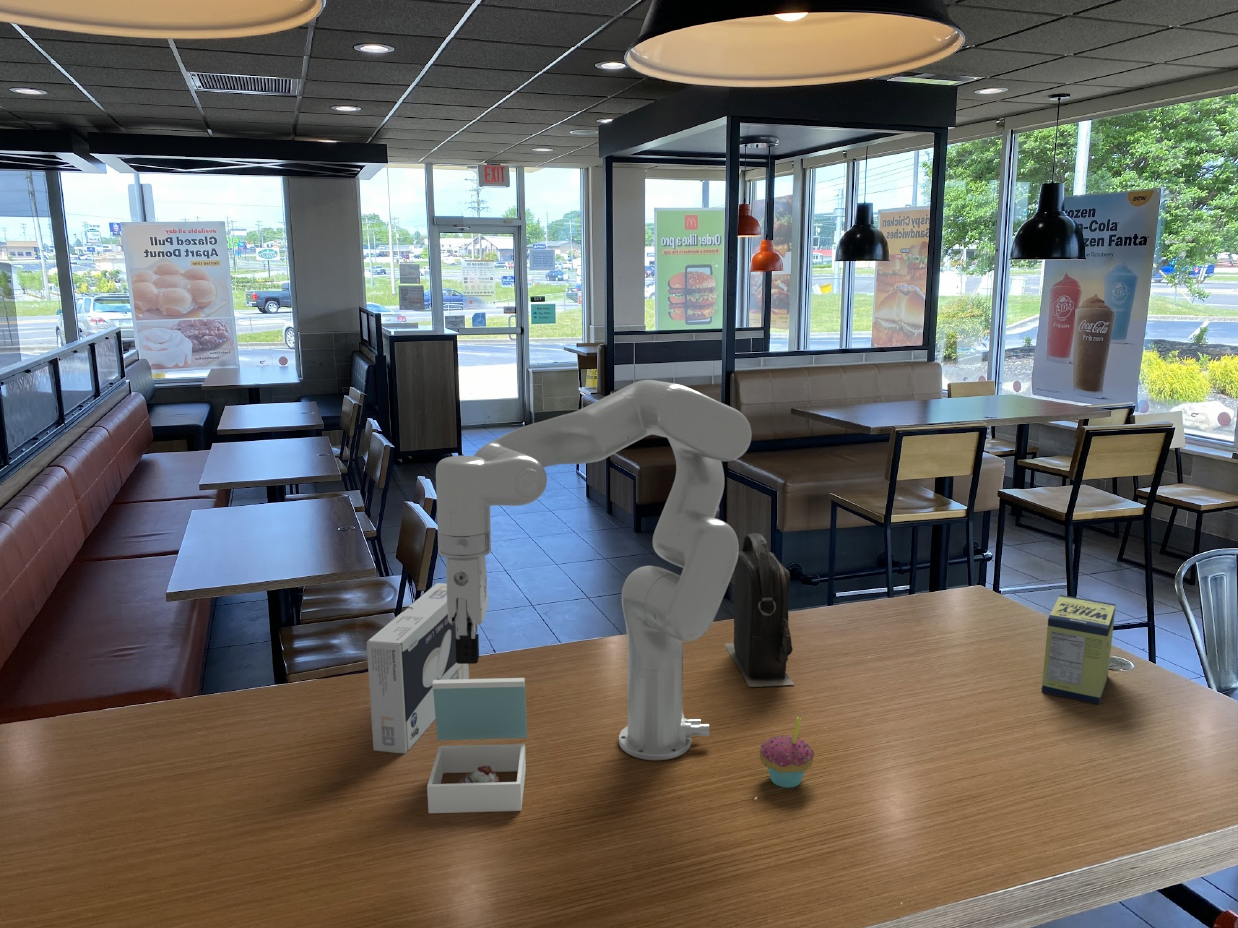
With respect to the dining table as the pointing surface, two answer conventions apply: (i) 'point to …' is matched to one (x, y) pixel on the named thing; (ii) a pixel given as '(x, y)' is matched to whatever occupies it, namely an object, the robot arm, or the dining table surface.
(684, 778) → the dining table surface
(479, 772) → the pastry
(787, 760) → the cupcake
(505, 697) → the lid
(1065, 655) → the protein box
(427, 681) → the packaging
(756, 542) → the shoulder bag
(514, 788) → the box
